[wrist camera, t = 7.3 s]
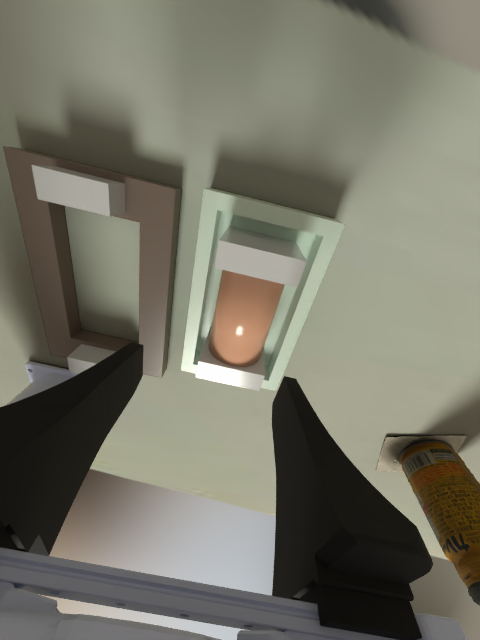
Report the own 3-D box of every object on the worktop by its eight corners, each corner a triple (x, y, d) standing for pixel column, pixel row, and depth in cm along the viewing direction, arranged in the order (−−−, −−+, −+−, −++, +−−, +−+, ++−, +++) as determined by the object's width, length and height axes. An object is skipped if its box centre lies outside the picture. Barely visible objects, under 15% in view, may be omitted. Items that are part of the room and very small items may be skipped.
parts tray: (274, 373, 25) (276, 390, 23) (187, 354, 24) (180, 370, 22) (335, 218, 17) (345, 224, 15) (211, 187, 17) (204, 188, 15)
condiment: (446, 470, 31) (541, 619, 20) (375, 470, 32) (431, 610, 21) (465, 433, 27) (592, 590, 17) (384, 434, 28) (456, 582, 18)
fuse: (259, 351, 23) (259, 391, 19) (208, 340, 23) (195, 377, 18) (295, 241, 18) (307, 261, 14) (229, 225, 18) (219, 240, 13)
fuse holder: (166, 368, 26) (153, 393, 22) (61, 345, 25) (33, 368, 22) (181, 188, 17) (164, 190, 14) (23, 148, 17) (-30, 141, 14)
